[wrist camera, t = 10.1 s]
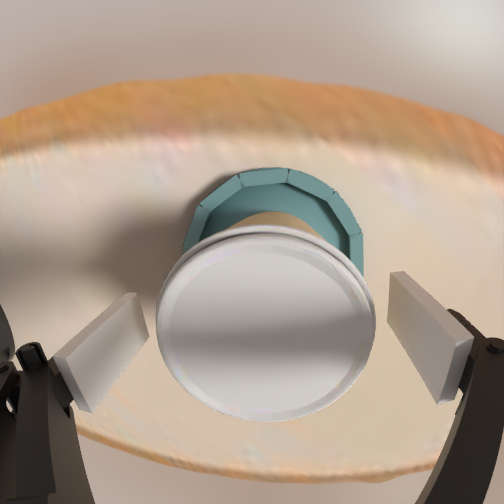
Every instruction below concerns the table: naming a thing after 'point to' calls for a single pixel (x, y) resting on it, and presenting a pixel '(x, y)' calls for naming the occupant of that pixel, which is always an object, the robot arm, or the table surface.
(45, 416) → the robot arm
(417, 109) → the table surface
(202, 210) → the saucer
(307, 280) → the coffee cup
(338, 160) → the table surface
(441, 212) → the table surface
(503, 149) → the table surface
